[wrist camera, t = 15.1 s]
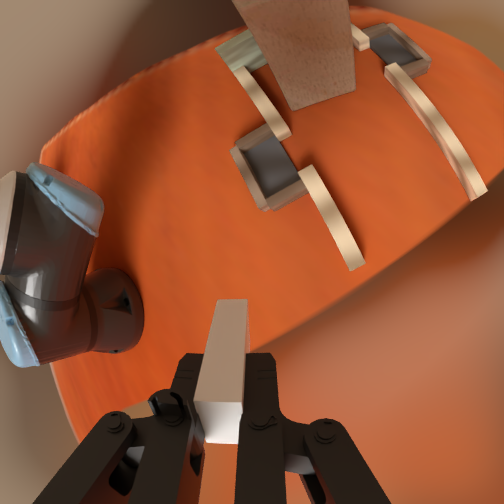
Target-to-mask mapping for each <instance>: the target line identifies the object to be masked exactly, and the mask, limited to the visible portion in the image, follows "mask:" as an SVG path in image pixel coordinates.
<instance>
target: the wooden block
mask: <svg viewBox="0 0 504 504" xmlns="http://www.w3.org/2000/svg"><path fill="white" fill-rule="evenodd" d="M232 2H233V3H234V5H235V7H236V8H237V10H238V11H239V13H240V15H241V16H242V18H243V20H244V21H245V23H246V25H247V27H248V28H249V30H250V32H251V33H252V35H253V37H254V39H255V41H256V42H257V44H258V46H259V48H260V50H261V51H262V53H263V55H264V57H265V59H266V61H267V63H268V65H269V67H270V69H271V71H272V72H273V74H274V76H275V78H276V80H277V82H278V84H279V86H280V88H281V90H282V92H283V95H284V97H285V99H286V101H287V103H288V105H289V107H290V109H291V110H292V111H296V110H298V109H301V108H304V107H306V106H309V105H312V104H315V103H318V102H321V101H324V100H327V99H330V98H333V97H336V96H339V95H343V94H346V93H349V92H352V91H355V90H356V80H355V63H354V50H353V39H352V30H351V21H350V14H349V6H348V0H232Z"/></svg>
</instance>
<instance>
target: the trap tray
mask: <svg viewBox="0 0 504 504" xmlns="http://www.w3.org/2000/svg"><path fill="white" fill-rule="evenodd" d="M351 30H352V39H353V46H354V47H356V48H357V49H358V50H359V51H362V50H365V49H367V48H371V49H372V50H373V51H374V52H375V53H376V54H377V55H378V56H379V57H380V58H381V59H382V60H383V61H384V62H385V63H386V64H387V66H385V73H384V76H385V78H386V79H387V80H388V81H389V82H390V83H391V84H392V85H393V86H394V88H395V89H396V90H397V91H398V92H399V93H400V95H401V96H402V97H403V98H404V99H405V101H406V102H407V103H408V104H409V106H410V107H411V108H412V109H413V111H414V112H415V113H416V114H417V116H418V117H419V118H420V120H421V121H422V122H423V124H424V125H425V127H426V128H427V129H428V131H429V132H430V134H431V135H432V137H433V138H434V139H435V141H436V142H437V144H438V145H439V147H440V149H441V150H442V152H443V153H444V155H445V156H446V158H447V160H448V161H449V163H450V165H451V166H452V168H453V170H454V171H455V173H456V175H457V177H458V178H459V180H460V182H461V184H462V186H463V187H464V189H465V191H466V193H467V195H468V197H469V199H470V201H472V200H474V199H476V198H478V197H479V196H481V195H482V194H484V193H485V192H487V189H486V187H485V185H484V183H483V181H482V179H481V177H480V175H479V173H478V172H477V170H476V168H475V166H474V165H473V163H472V161H471V159H470V158H469V156H468V154H467V153H466V151H465V150H464V148H463V146H462V145H461V143H460V142H459V140H458V139H457V137H456V136H455V134H454V133H453V131H452V130H451V128H450V127H449V126H448V124H447V123H446V121H445V120H444V119H443V117H442V116H441V115H440V113H439V112H438V111H437V109H436V108H435V107H434V105H433V104H432V103H431V102H430V100H429V99H428V98H427V97H426V96H425V94H424V93H423V92H422V91H421V90H420V88H419V87H418V86H417V85H416V84H415V83H414V82H413V80H412V79H413V78H415V77H418V76H420V75H423V74H425V73H427V70H428V69H429V68H430V64H431V61H432V59H431V58H430V57H429V56H428V55H427V54H426V53H425V52H424V51H423V50H422V49H421V48H420V47H419V46H418V45H417V44H416V43H415V42H414V41H413V40H411V39H410V38H409V37H408V36H407V35H406V34H405V33H403V32H402V31H401V30H400V29H399V28H398V27H396V26H395V25H394V24H393V23H390V24H385V23H381V24H378V25H374V26H371V27H368V28H365V29H362V30H360V29H358V28H357V27H356V26H355V25H353V24H352V23H351ZM215 50H216V51H217V53H218V54H219V55H220V56H221V58H222V59H223V60H224V62H225V63H226V64H227V66H228V67H229V68H230V70H231V71H232V72H233V74H234V75H235V76H236V78H237V79H238V81H239V82H240V83H241V85H242V86H243V88H244V89H245V91H246V92H247V93H248V95H249V96H250V98H251V99H252V101H253V102H254V104H255V105H256V107H257V108H258V110H259V111H260V113H261V114H262V116H263V117H264V119H265V120H266V122H267V123H266V124H264V125H262V126H260V127H259V128H257V129H255V130H254V131H252V132H250V133H249V134H247V135H246V136H244V137H242V138H241V139H239V140H237V141H236V142H235V144H236V146H235V147H233V148H232V149H230V150H229V151H230V153H231V155H232V157H233V159H234V161H235V163H236V165H237V167H238V169H239V171H240V173H241V175H242V177H243V178H244V180H245V182H246V184H247V186H248V188H249V190H250V192H251V194H252V196H253V198H254V200H255V202H256V204H257V206H258V208H259V209H260V210H262V211H264V212H266V211H267V210H269V209H272V210H273V211H277V210H278V209H280V208H282V207H284V206H286V205H287V204H289V203H291V202H293V201H295V200H296V199H298V198H300V197H302V196H304V195H305V194H307V193H310V195H311V197H312V198H313V200H314V202H315V204H316V206H317V208H318V209H319V211H320V213H321V215H322V217H323V219H324V221H325V222H326V224H327V226H328V228H329V230H330V232H331V234H332V236H333V238H334V240H335V242H336V244H337V246H338V248H339V250H340V252H341V254H342V256H343V258H344V260H345V262H346V264H347V266H348V268H349V270H350V271H352V270H354V269H356V268H358V267H360V266H362V265H363V264H365V261H364V258H363V256H362V254H361V252H360V250H359V248H358V246H357V244H356V242H355V240H354V238H353V236H352V234H351V233H350V231H349V229H348V227H347V225H346V223H345V221H344V219H343V217H342V215H341V214H340V212H339V210H338V208H337V206H336V205H335V203H334V201H333V199H332V197H331V196H330V194H329V192H328V190H327V189H326V187H325V185H324V183H323V182H322V180H321V178H320V177H319V175H318V173H317V172H316V170H315V168H314V167H313V165H312V164H311V165H310V166H308V167H306V168H304V169H302V170H301V171H299V172H297V170H296V169H295V167H294V165H293V163H292V162H291V160H290V158H289V157H288V155H287V153H286V152H285V150H284V149H283V147H282V145H281V144H280V141H282V140H284V139H286V138H288V137H289V136H291V135H292V133H291V131H290V130H289V128H288V126H287V125H286V123H285V122H284V120H283V119H282V117H281V116H280V114H279V113H278V111H277V110H276V109H275V107H274V106H273V104H272V103H271V101H270V100H269V99H268V97H267V96H266V95H265V93H264V92H263V90H262V89H261V88H260V86H259V85H258V84H257V82H256V81H255V80H254V78H253V77H252V76H251V75H250V73H251V72H253V71H255V70H256V69H258V68H260V67H262V66H264V65H265V64H267V61H266V59H265V57H264V55H263V53H262V51H261V50H260V48H259V46H258V44H257V42H256V41H255V39H254V37H253V35H252V33H251V32H250V30H249V29H248V30H246V31H244V32H242V33H240V34H239V35H237V36H235V37H233V38H232V39H230V40H228V41H226V42H225V43H223V44H221V45H220V46H218V47H216V48H215Z"/></svg>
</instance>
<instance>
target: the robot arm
mask: <svg viewBox="0 0 504 504" xmlns="http://www.w3.org/2000/svg"><path fill="white" fill-rule="evenodd" d="M103 214H104V203H103V201H102V199H101V197H100V196H99V195H98V194H96V193H95V192H94V191H92V190H91V189H89V188H88V187H86V186H85V185H83V184H81V183H80V182H78V181H76V180H74V179H72V178H71V177H69V176H67V175H65V174H63V173H61V172H59V171H57V170H55V169H53V168H51V167H48V166H46V165H42V164H39V163H37V162H33V163H31V164H30V165H29V167H28V168H27V169H26V173H20V172H16V171H11V172H9V173H8V174H7V175H5V176H4V177H3V178H1V179H0V274H2V275H5V280H4V282H3V281H1V280H0V340H1V343H2V345H3V348H4V350H5V352H6V354H7V356H8V357H9V359H10V360H11V361H12V362H13V363H14V364H15V365H17V366H19V367H29V366H34V365H36V366H40V365H42V364H46V363H50V362H53V361H57V360H61V359H64V358H68V357H71V356H75V355H78V354H81V353H85V352H89V351H95V352H103V353H113V354H116V353H122V352H125V351H128V350H130V349H132V348H133V347H134V346H135V345H136V344H137V343H138V341H139V340H140V337H141V335H142V331H143V325H144V313H143V306H142V302H141V298H140V295H139V293H138V290H137V288H136V286H135V285H134V283H133V281H132V280H131V279H130V278H129V276H128V275H127V274H125V273H124V272H123V271H121V270H119V269H116V268H100V269H97V270H95V271H93V272H91V273H89V274H87V275H86V271H87V268H88V264H89V261H90V257H91V254H92V250H93V247H94V244H95V241H96V237H98V236H99V232H98V230H99V227H100V224H101V220H102V217H103ZM148 403H149V405H150V407H151V409H152V412H153V414H154V415H153V416H150V417H145V418H136V419H131V418H130V416H129V415H127V414H126V413H124V412H120V411H113V412H110V413H107V414H105V415H104V416H103V417H102V418H101V419H100V420H99V421H98V422H97V424H96V425H95V426H94V427H93V429H92V430H91V431H90V432H89V433H88V435H87V436H86V437H85V438H84V440H83V441H82V442H81V443H80V445H79V446H78V447H77V448H76V450H75V451H74V452H73V453H72V455H71V456H70V457H69V458H68V459H67V461H66V462H65V463H64V465H63V466H62V467H61V468H60V469H59V471H58V472H57V473H56V475H55V476H54V477H53V478H52V480H51V481H50V482H49V483H48V485H47V486H46V487H45V488H44V490H43V491H42V492H41V493H40V495H39V496H38V497H37V498H36V500H35V501H34V502H33V504H198V502H199V495H200V488H201V480H202V473H203V466H204V459H205V450H204V447H203V444H204V438H205V439H206V442H207V443H225V444H227V443H228V444H238V452H237V470H236V486H235V502H234V504H287V502H286V485H285V471H288V472H293V473H298V474H299V476H300V478H301V481H302V483H303V485H304V487H305V490H306V492H307V495H308V497H309V499H310V501H311V504H391V502H390V501H389V499H388V497H387V496H386V494H385V493H384V491H383V489H382V488H381V486H380V485H379V483H378V481H377V480H376V478H375V476H374V475H373V473H372V472H371V470H370V468H369V467H368V465H367V464H366V462H365V460H364V459H363V457H362V455H361V454H360V452H359V450H358V449H357V447H356V445H355V444H354V442H353V440H352V439H351V437H350V436H349V434H348V432H347V431H346V429H345V428H344V426H343V425H342V424H341V423H340V422H338V421H335V420H333V419H327V418H325V419H318V420H316V421H314V422H312V423H310V424H309V425H308V424H302V423H297V422H294V421H291V420H289V419H287V418H286V417H285V416H284V415H283V414H282V413H281V411H280V408H279V399H278V385H277V372H276V361H275V359H274V358H273V356H272V355H271V354H270V353H250V336H249V318H248V300H247V299H227V300H217V304H216V308H215V312H214V316H213V320H212V324H211V328H210V332H209V336H208V340H207V344H206V349H205V353H204V354H194V353H186V354H185V356H184V357H183V358H182V359H181V360H180V361H179V364H178V367H177V371H176V373H175V376H174V379H173V382H172V385H171V388H170V389H163V390H160V391H157V392H155V393H154V394H153V395H151V397H150V398H149V400H148Z"/></svg>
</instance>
